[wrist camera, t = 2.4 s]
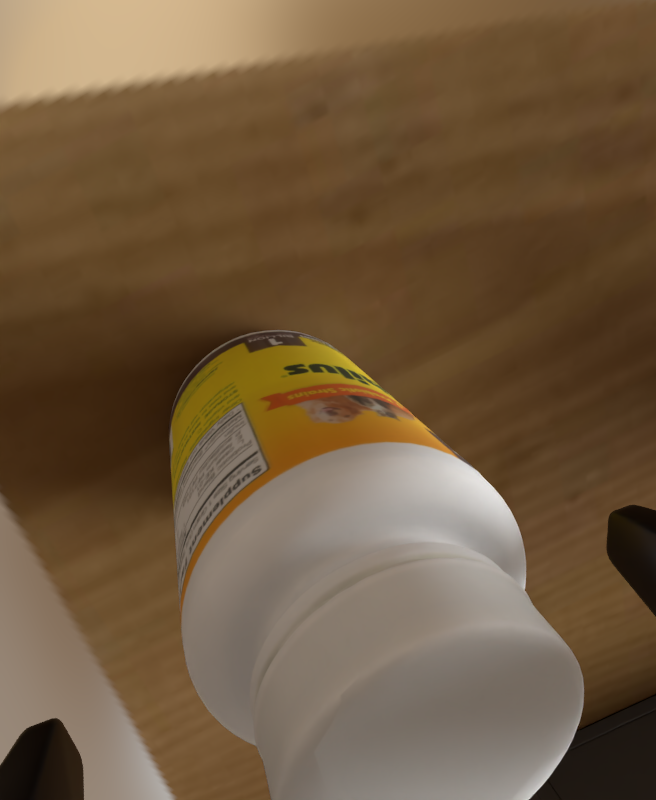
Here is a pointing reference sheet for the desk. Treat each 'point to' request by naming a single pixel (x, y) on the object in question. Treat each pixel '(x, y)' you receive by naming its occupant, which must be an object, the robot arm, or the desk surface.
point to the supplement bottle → (356, 588)
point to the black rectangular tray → (609, 759)
